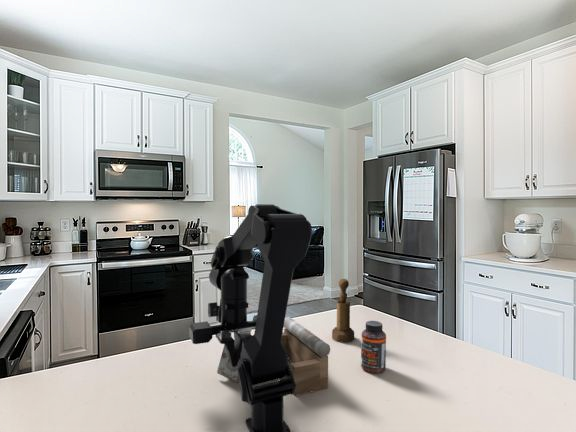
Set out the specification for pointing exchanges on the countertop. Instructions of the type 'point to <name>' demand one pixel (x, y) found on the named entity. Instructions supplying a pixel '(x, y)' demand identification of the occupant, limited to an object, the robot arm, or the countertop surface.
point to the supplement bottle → (373, 347)
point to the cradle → (305, 357)
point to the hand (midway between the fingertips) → (233, 366)
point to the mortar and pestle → (343, 316)
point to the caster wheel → (228, 367)
